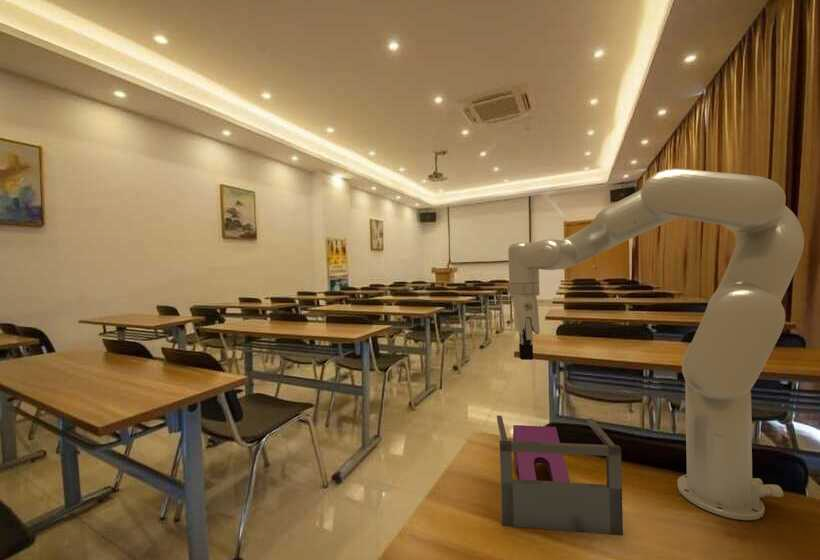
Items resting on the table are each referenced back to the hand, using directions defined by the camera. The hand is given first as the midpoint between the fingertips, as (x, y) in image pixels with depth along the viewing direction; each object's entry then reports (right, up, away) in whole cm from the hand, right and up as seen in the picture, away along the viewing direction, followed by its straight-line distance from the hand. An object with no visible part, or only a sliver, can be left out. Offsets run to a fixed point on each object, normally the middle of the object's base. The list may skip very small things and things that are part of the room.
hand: (526, 358), depth 92 cm
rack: (-3, -23, -25) cm, 34 cm away
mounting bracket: (-3, -23, -18) cm, 29 cm away
